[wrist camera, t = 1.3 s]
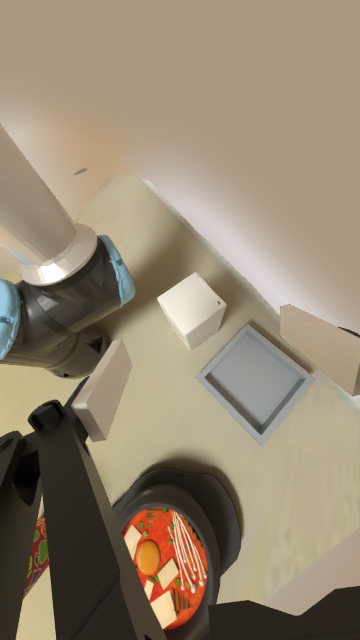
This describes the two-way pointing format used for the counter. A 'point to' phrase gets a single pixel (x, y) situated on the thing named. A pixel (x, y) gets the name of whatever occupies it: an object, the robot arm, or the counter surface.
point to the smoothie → (37, 556)
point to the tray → (255, 382)
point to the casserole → (179, 543)
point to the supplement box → (193, 310)
